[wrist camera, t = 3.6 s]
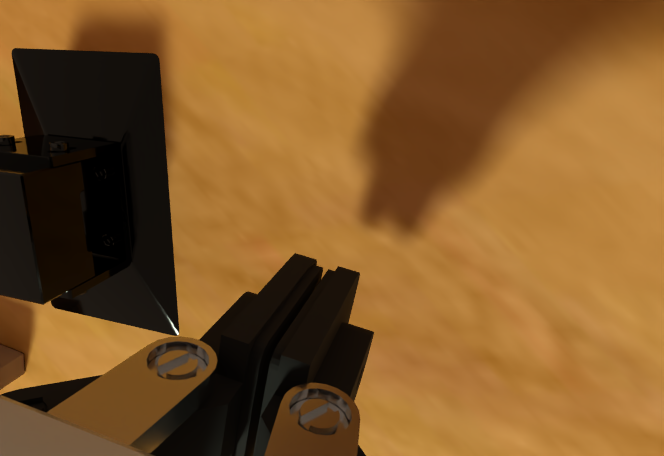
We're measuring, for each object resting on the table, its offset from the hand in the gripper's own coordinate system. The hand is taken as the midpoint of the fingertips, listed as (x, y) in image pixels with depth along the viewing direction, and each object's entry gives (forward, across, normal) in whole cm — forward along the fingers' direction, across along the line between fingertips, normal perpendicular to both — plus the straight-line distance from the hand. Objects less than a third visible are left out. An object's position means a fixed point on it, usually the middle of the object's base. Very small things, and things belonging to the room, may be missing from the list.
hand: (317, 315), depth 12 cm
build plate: (+4, +9, 0) cm, 10 cm away
